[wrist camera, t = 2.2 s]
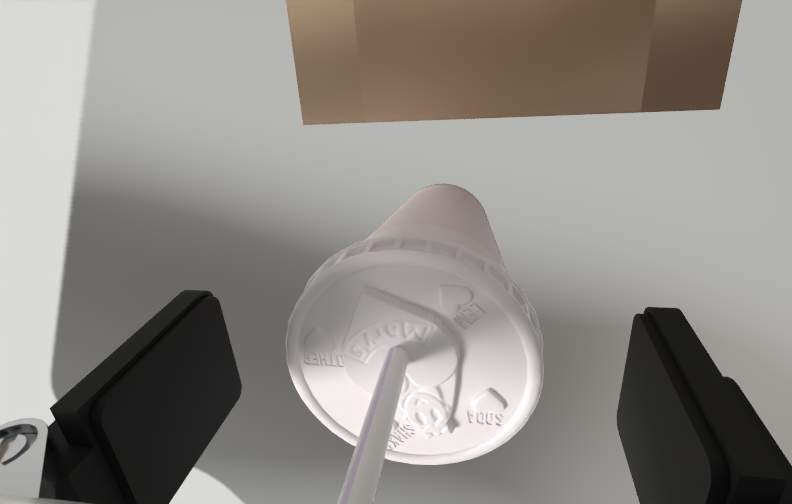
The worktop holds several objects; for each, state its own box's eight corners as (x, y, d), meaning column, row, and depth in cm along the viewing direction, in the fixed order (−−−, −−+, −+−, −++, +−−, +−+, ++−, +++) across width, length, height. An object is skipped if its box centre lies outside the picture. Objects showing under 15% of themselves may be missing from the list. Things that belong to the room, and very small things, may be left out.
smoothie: (487, 124, 18) (484, 326, 6) (543, 266, 20) (634, 655, 7) (343, 186, 20) (102, 436, 8) (406, 310, 22) (298, 671, 10)
